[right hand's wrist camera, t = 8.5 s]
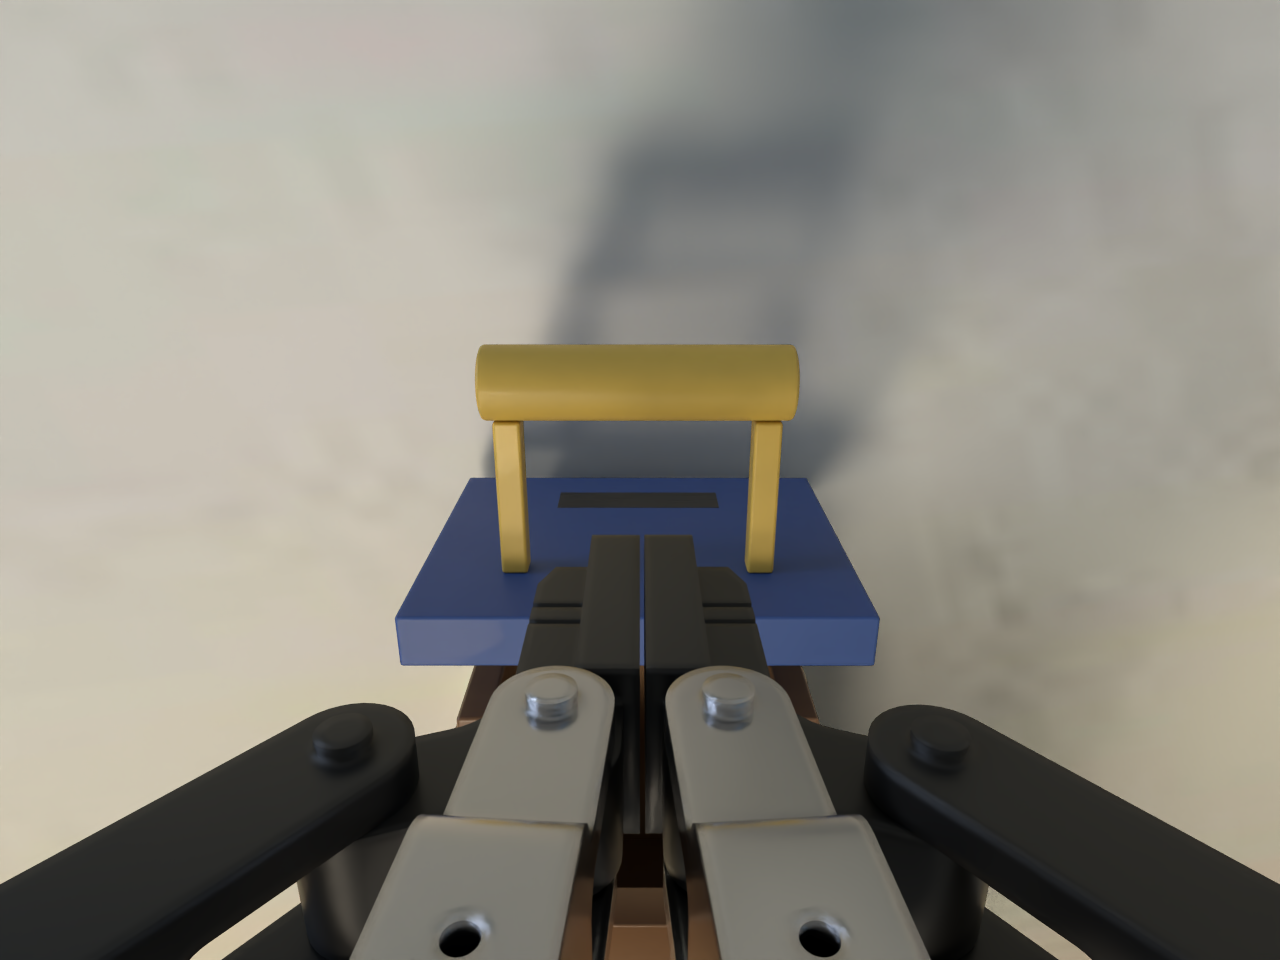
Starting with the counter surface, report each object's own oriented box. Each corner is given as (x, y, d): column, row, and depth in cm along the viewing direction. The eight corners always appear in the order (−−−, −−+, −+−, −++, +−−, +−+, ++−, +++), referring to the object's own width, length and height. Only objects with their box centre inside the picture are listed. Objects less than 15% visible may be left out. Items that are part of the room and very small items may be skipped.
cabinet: (474, 667, 28) (389, 925, 19) (803, 668, 28) (885, 925, 19) (500, 977, 34) (445, 1298, 24) (776, 977, 34) (830, 1299, 24)
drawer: (455, 300, 23) (362, 371, 15) (820, 300, 23) (911, 370, 15) (497, 828, 29) (448, 1059, 22) (778, 829, 29) (826, 1059, 22)
